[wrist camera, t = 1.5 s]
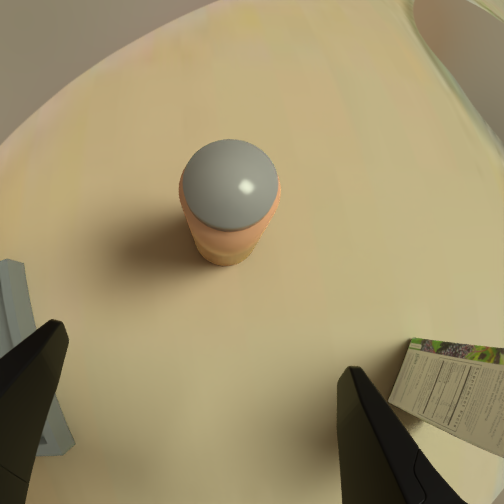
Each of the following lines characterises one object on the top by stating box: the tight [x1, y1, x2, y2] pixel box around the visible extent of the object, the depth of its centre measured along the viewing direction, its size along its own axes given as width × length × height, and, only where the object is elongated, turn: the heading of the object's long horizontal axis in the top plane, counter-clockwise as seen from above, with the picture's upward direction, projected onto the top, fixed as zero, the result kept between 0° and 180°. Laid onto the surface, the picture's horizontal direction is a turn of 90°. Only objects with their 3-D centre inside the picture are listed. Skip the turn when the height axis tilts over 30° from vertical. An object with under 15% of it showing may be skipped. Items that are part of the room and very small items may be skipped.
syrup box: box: [388, 338, 504, 458], centre depth 15 cm, size 6×6×14 cm
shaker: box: [179, 139, 281, 266], centre depth 18 cm, size 4×4×10 cm
